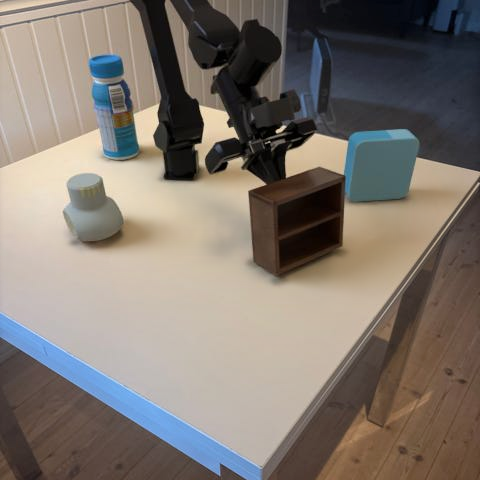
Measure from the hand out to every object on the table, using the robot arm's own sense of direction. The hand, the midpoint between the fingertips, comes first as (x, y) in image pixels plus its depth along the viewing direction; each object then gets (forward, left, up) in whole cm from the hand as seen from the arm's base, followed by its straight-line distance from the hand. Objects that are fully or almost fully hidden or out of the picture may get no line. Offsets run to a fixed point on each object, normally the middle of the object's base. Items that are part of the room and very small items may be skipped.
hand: (284, 194), depth 77 cm
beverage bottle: (-39, +35, -10) cm, 53 cm away
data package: (+17, +20, -10) cm, 28 cm away
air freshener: (-33, +1, -10) cm, 34 cm away
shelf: (+3, -3, -9) cm, 10 cm away
